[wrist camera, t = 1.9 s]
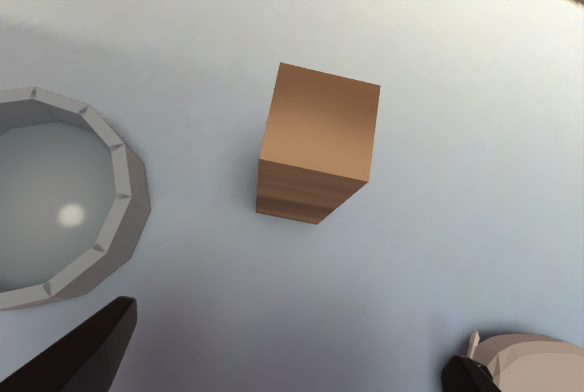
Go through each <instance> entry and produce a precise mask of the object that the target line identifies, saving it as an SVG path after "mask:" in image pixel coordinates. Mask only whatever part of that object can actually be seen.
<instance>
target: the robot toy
mask: <svg viewBox="0 0 584 392" xmlns="http://www.w3.org/2000/svg"><path fill="white" fill-rule="evenodd" d="M469 342H470V345H469V348H468V352H467V355H466V356H468V357H470V358H471V359H472V360H473V361H474V362H475V363H476V364H477V365H478V366H479V367H480V368H481V369H482V370H483V372H484V373H485V374H486V375H487V376H488V377H489V378H490V379H491V380H492V381H493V382H494V383H495V385H496V386H497V387H498V388H499V389H500V390H501V391H502V392H584V348H581V347H579V346H576V345H574V344H571V343H569V342H565V341H562V340H558V339H555V338H551V337H548V336H544V335H531V334H506V335H498V336H494V337H490V338H489V339H487V340H485V341H483V342H481V343H479V344H478V342H479V335H478V331H475V332H474V333H472V334H471V337H470V340H469ZM475 347H476V348H475Z"/></svg>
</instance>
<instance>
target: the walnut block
mask: <svg viewBox="0 0 584 392" xmlns="http://www.w3.org/2000/svg"><path fill="white" fill-rule="evenodd" d="M379 93H380V86H379V85H375V84H371V83H366V82H362V81H358V80H354V79H349V78H345V77H341V76H336V75H332V74H328V73H323V72H319V71H315V70H311V69H306V68H302V67H298V66H293V65H289V64H285V63H280V65H279V70H278V75H277V79H276V84H275V88H274V93H273V97H272V102H271V107H270V111H269V116H268V120H267V125H266V129H265V134H264V138H263V143H262V148H261V152H260V157H259V168H258V184H257V200H256V213H261V214H266V215H271V216H276V217H281V218H286V219H291V220H296V221H301V222H306V223H311V224H316V225H317V224H318V223H319V222H321V221H322V220H323V219H324V218H325V217H327V216H328V215H329V214H330V213H331V212H333V211H334V210H335V209H336V208H338V207H339V206H340V205H341V204H342V203H344V202H345V201H346V200H347V199H348V198H350V197H351V196H352V195H353V194H354V193H356V192H357V191H358V190H359V189H360V188H362V187H363V186H364V185H365V184H366V183H368V182H369V174H370V166H371V158H372V150H373V142H374V134H375V125H376V117H377V109H378V101H379Z"/></svg>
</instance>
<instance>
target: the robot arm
mask: <svg viewBox="0 0 584 392" xmlns="http://www.w3.org/2000/svg"><path fill="white" fill-rule="evenodd" d="M136 322H137V302H136V299H135V298H131V297H125V296H120V297H118V298H116V299H115V300H113V301H112V302H111V303H109V304H108V305H106V306H105V307H104V308H102V309H101V310H100V311H98V312H97V313H95V314H94V315H93V316H91V317H90V318H89V319H87V320H86V321H84V322H83V323H82V324H80V325H79V326H78V327H76V328H75V329H73V330H72V331H71V332H69V333H68V334H66V335H65V336H64V337H62V338H61V339H60V340H58V341H57V342H55V343H54V344H53V345H51V346H50V347H49V348H47V349H46V350H44V351H43V352H42V353H40V354H39V355H38V356H36V357H35V358H33V359H32V360H31V361H29V362H28V363H27V364H25V365H24V366H22V367H21V368H20V369H18V370H17V371H16V372H14V373H13V374H11V375H10V376H9V377H7V378H6V379H5V380H3V381H2V382H0V392H108V390H109V388H110V386H111V384H112V382H113V380H114V377H115V375H116V373H117V370H118V368H119V365H120V363H121V360H122V358H123V356H124V353H125V351H126V348H127V346H128V343H129V341H130V338H131V336H132V334H133V331H134V329H135V326H136ZM441 382H442V388H443V392H502V391H501V390H500V389H499V388H498V387H497V386H496V385H495V383H494V382H493V381H492V380H491V379H490V378H489V377H488V376H487V375H486V374H485V373H484V372H483V370H482V369H481V368H480V367H479V366H478V365H477V364H476V363H475V362H474V361H473V360H472V359H471V358H470V357H468V356H463V355H458V354H455V355H453V356H452V357H451V359H450V360H449V361H448V363H447V364H446V365H445V367H444V368H443V370H442V372H441Z"/></svg>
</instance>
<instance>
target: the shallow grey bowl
mask: <svg viewBox="0 0 584 392" xmlns="http://www.w3.org/2000/svg"><path fill="white" fill-rule="evenodd" d="M150 211H151V207H150V200H149V193H148V186H147V180H146V173H145V166H144V164H143V162H142V161H141V160H140V159H139V158H138V157H137V156H136V155H135V154H134V152H133V151H132V150H131V149H130V148H129V147H128V146H127V145H126V143H125V142H124V141H123V140H122V139H121V138H120V137H119V136H118V134H117V133H116V132H115V131H114V130H113V129H112V128H111V127H110V126H109V124H108V123H107V122H106V121H105V120H104V119H103V118H102V117H101V116H100V115H99V114H98V113H97V111H96V110H95V109H94V108H93V107H92V106H91V105H90V104H87V103H84V102H81V101H78V100H75V99H72V98H69V97H66V96H63V95H60V94H57V93H54V92H51V91H47V90H44V89H41V88H38V87H28V88H20V89H12V90H4V91H0V311H6V310H14V309H22V308H28V307H33V306H37V305H41V304H46V303H50V302H54V301H59V300H63V299H68V298H72V297H76V296H81V295H85V294H87V293H88V292H89V291H91V290H92V289H93V288H94V287H95V286H97V285H98V284H99V283H100V282H102V281H103V280H104V279H105V278H106V277H108V276H109V275H110V274H111V273H112V272H114V271H115V270H116V269H117V268H119V267H120V266H121V265H122V264H123V263H125V262H126V261H127V260H128V259H130V258H131V256H132V253H133V251H134V249H135V246H136V244H137V242H138V239H139V237H140V235H141V232H142V230H143V228H144V225H145V223H146V221H147V218H148V216H149V214H150Z"/></svg>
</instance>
